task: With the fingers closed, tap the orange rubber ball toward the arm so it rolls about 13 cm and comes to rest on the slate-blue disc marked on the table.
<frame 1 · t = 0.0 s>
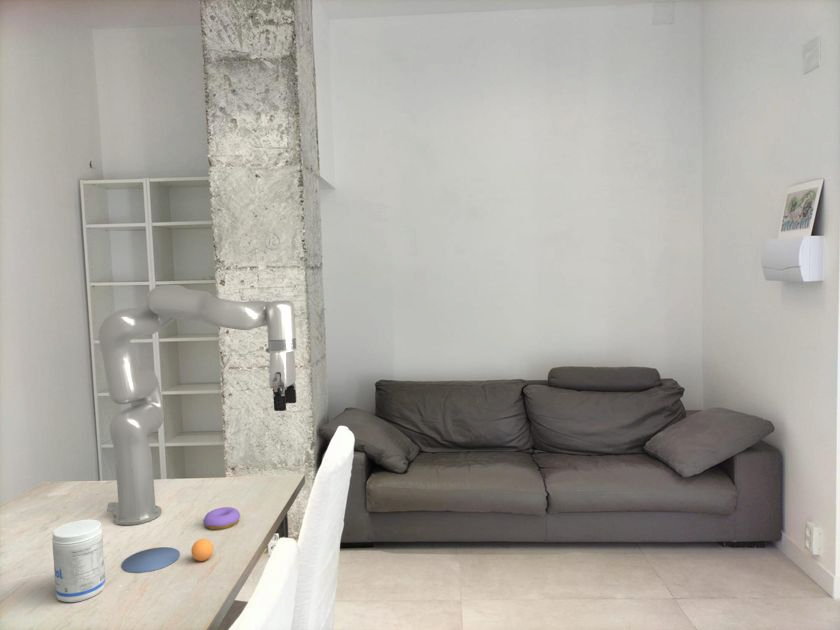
hand: (285, 406, 173), 31 cm above the table, tool pointing down, fingers open, 9 cm apart
ball: (202, 549, 150), on the table
supplement tub: (81, 593, 136), on the table
donut: (222, 525, 172), on the table
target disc: (151, 559, 151), on the table
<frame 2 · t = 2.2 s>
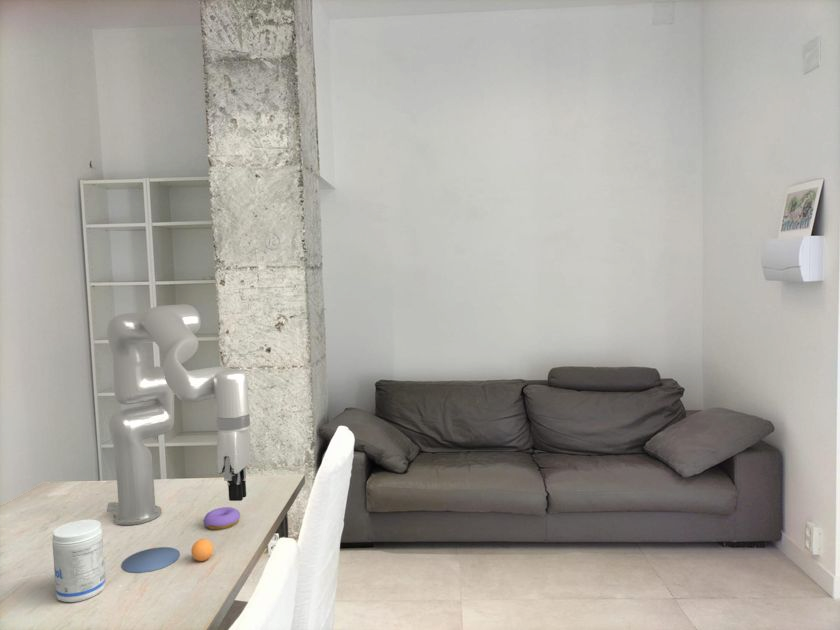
hand: (237, 498, 148), 15 cm above the table, tool pointing down, fingers closed
nothing on the table moved.
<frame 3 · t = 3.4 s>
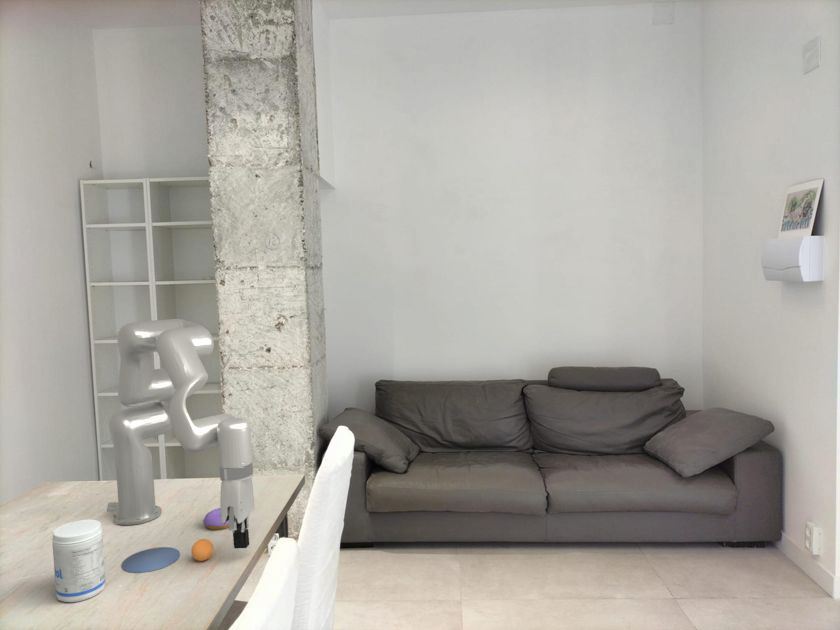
hand: (241, 546, 149), 3 cm above the table, tool pointing down, fingers closed
nothing on the table moved.
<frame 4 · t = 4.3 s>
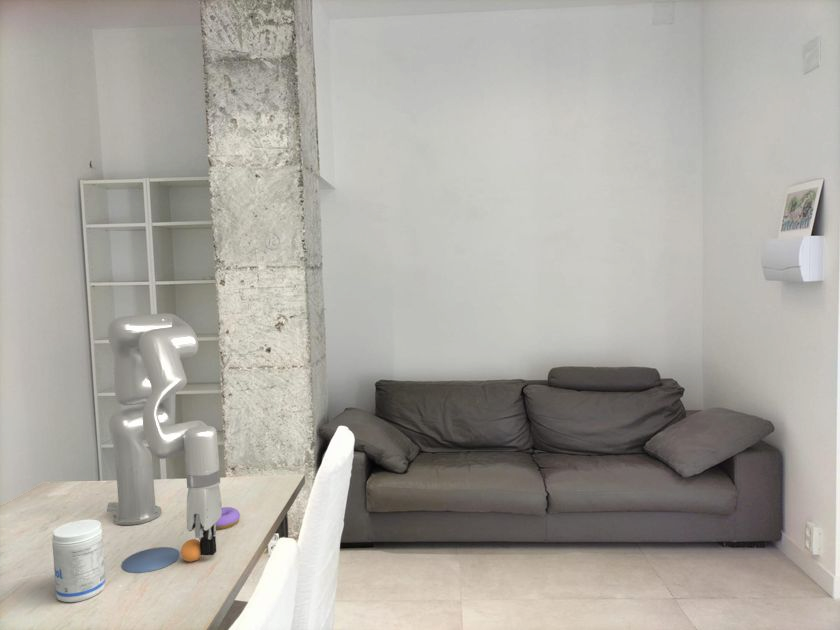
hand: (208, 553, 149), 2 cm above the table, tool pointing down, fingers closed
ball: (191, 550, 150), on the table, touching gripper
everything else where it was.
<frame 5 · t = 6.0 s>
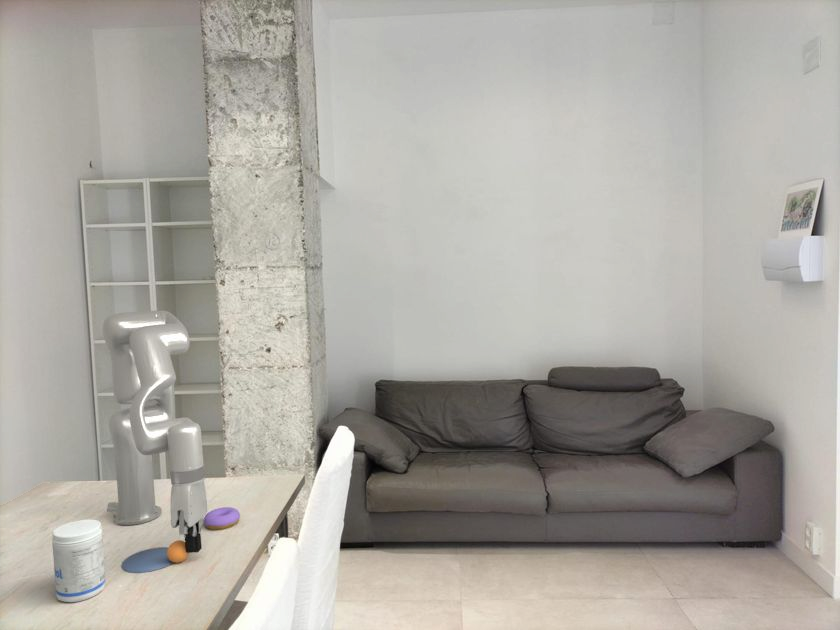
hand: (193, 550, 149), 3 cm above the table, tool pointing down, fingers closed
ball: (178, 551, 149), on the table, touching gripper
everything else where it was.
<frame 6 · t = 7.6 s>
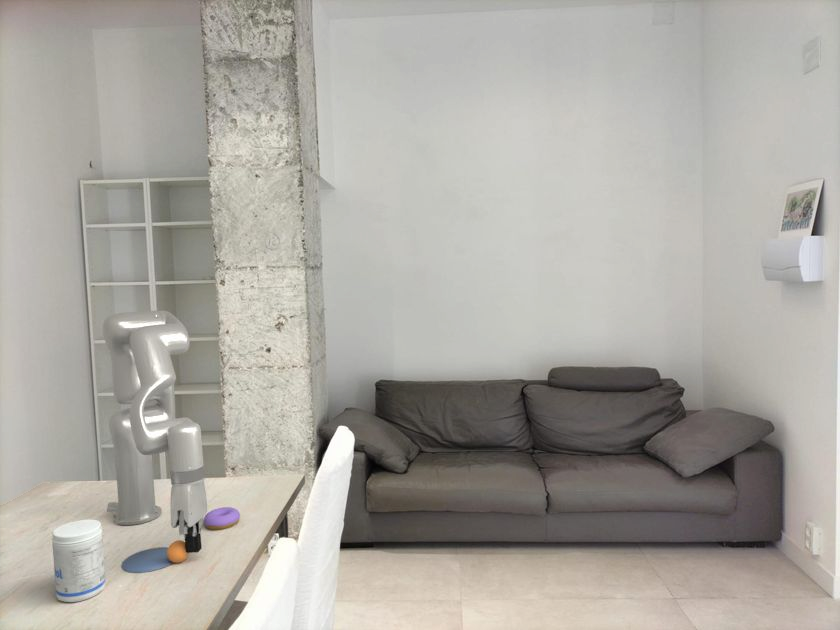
hand: (193, 551, 149), 3 cm above the table, tool pointing down, fingers closed
nothing on the table moved.
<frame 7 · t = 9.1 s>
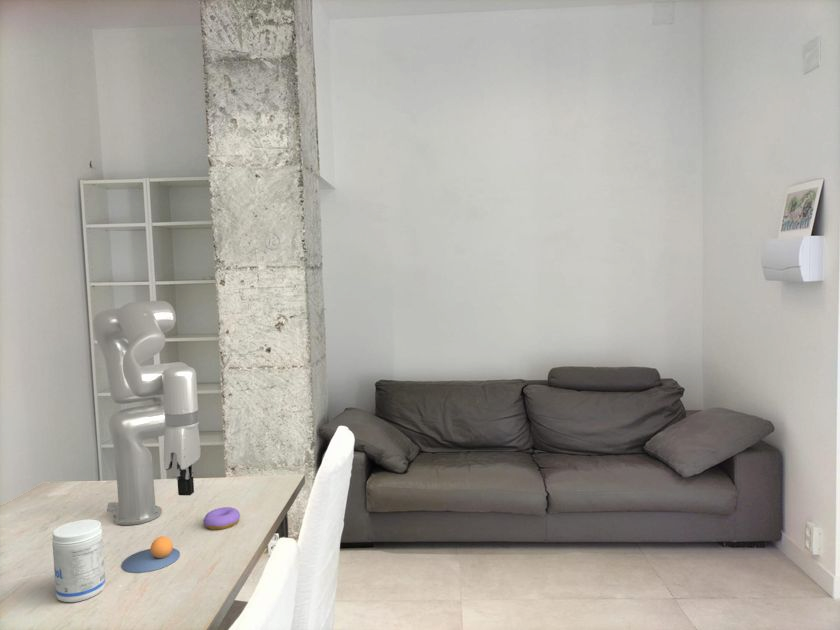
hand: (186, 494, 149), 16 cm above the table, tool pointing down, fingers closed
ball: (161, 547, 152), on the table
everything else where it was.
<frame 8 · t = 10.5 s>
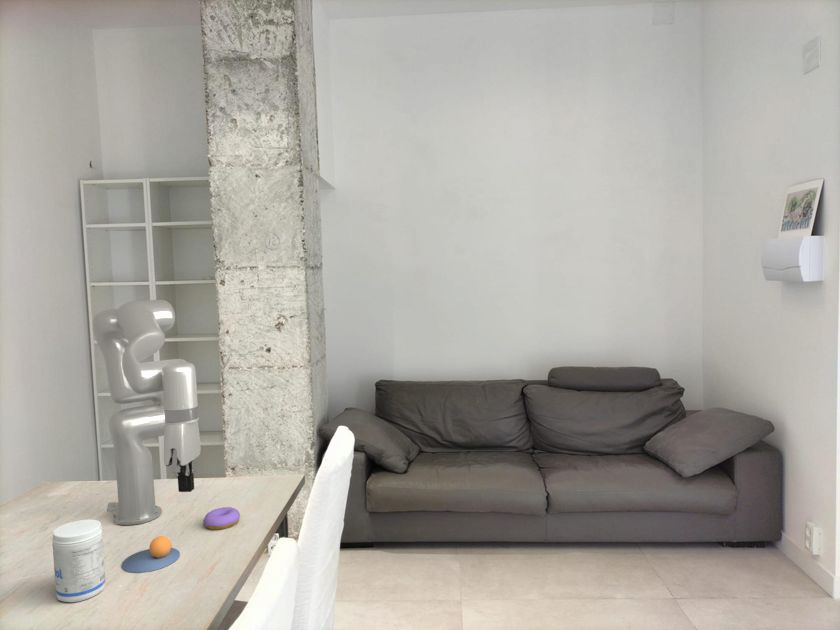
hand: (186, 490, 149), 17 cm above the table, tool pointing down, fingers closed
nothing on the table moved.
at the end: ball 2.3 cm from the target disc (horizontally); ball at rest at the end (0.0 cm/s); ball moved 11.5 cm from its start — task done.
